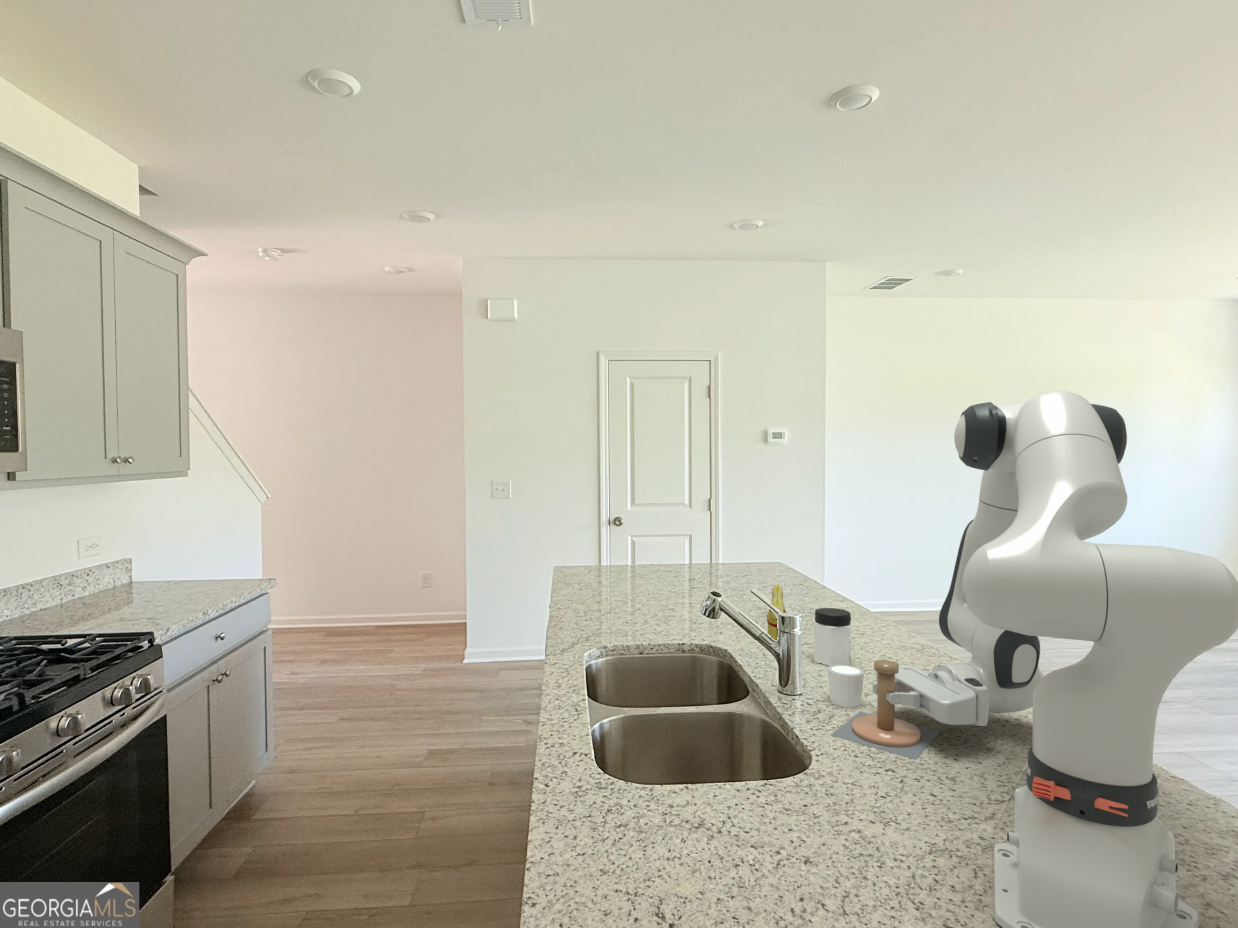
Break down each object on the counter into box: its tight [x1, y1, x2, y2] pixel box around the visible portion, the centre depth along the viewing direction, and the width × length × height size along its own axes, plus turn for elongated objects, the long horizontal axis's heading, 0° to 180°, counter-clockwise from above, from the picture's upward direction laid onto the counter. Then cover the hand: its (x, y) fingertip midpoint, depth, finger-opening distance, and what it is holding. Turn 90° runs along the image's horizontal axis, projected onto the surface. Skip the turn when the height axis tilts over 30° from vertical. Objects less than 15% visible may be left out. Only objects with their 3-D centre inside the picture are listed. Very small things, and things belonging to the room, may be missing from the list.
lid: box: [852, 659, 920, 747], centre depth 114 cm, size 11×11×12 cm
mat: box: [830, 710, 941, 761], centre depth 114 cm, size 14×14×1 cm
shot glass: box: [827, 664, 865, 708], centre depth 129 cm, size 7×7×7 cm
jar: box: [813, 607, 852, 667], centre depth 156 cm, size 9×8×12 cm
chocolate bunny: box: [766, 584, 787, 640], centre depth 173 cm, size 7×11×15 cm, turn 166°
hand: (881, 693), depth 114 cm, fingers closed on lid, 3 cm apart
